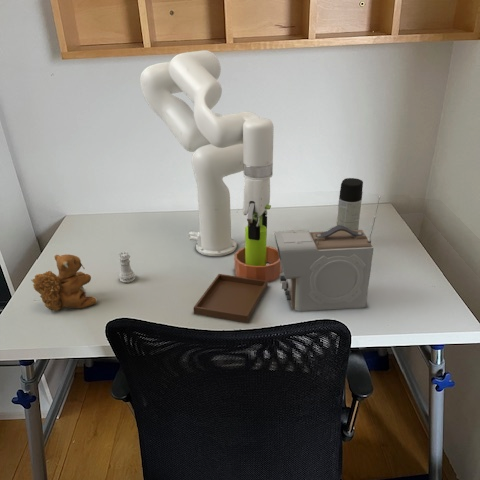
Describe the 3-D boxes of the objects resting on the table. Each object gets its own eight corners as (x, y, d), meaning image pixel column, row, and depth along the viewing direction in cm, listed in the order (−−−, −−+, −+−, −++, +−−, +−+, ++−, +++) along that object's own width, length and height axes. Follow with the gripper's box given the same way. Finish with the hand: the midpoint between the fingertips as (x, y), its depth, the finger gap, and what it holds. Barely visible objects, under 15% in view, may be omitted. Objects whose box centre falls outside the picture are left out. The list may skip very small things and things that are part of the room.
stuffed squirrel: (100, 303, 141) (91, 258, 133) (46, 320, 134) (34, 274, 127) (87, 287, 148) (78, 244, 140) (35, 303, 141) (23, 258, 134)
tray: (194, 313, 136) (193, 307, 134) (219, 279, 150) (218, 273, 149) (247, 322, 132) (247, 316, 130) (267, 287, 146) (267, 280, 145)
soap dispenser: (267, 276, 151) (269, 209, 140) (243, 274, 152) (243, 207, 141) (270, 266, 155) (272, 201, 144) (247, 264, 157) (247, 199, 146)
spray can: (359, 241, 169) (366, 179, 158) (353, 249, 164) (360, 186, 153) (338, 237, 171) (344, 176, 160) (332, 246, 166) (337, 183, 155)
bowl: (228, 279, 150) (228, 263, 147) (243, 258, 161) (243, 242, 158) (274, 285, 146) (275, 269, 144) (286, 263, 157) (287, 248, 154)
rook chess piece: (122, 284, 149) (118, 259, 144) (117, 278, 152) (113, 252, 147) (137, 281, 150) (134, 255, 146) (132, 274, 154) (128, 249, 149)
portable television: (272, 291, 144) (274, 182, 127) (359, 286, 145) (372, 178, 129) (278, 315, 134) (281, 201, 117) (371, 310, 135) (387, 196, 119)
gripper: (254, 158, 145) (254, 220, 155) (233, 179, 131) (234, 245, 142) (280, 160, 143) (279, 223, 153) (262, 182, 129) (261, 249, 140)
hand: (257, 233), depth 147 cm, fingers closed on soap dispenser, 5 cm apart
